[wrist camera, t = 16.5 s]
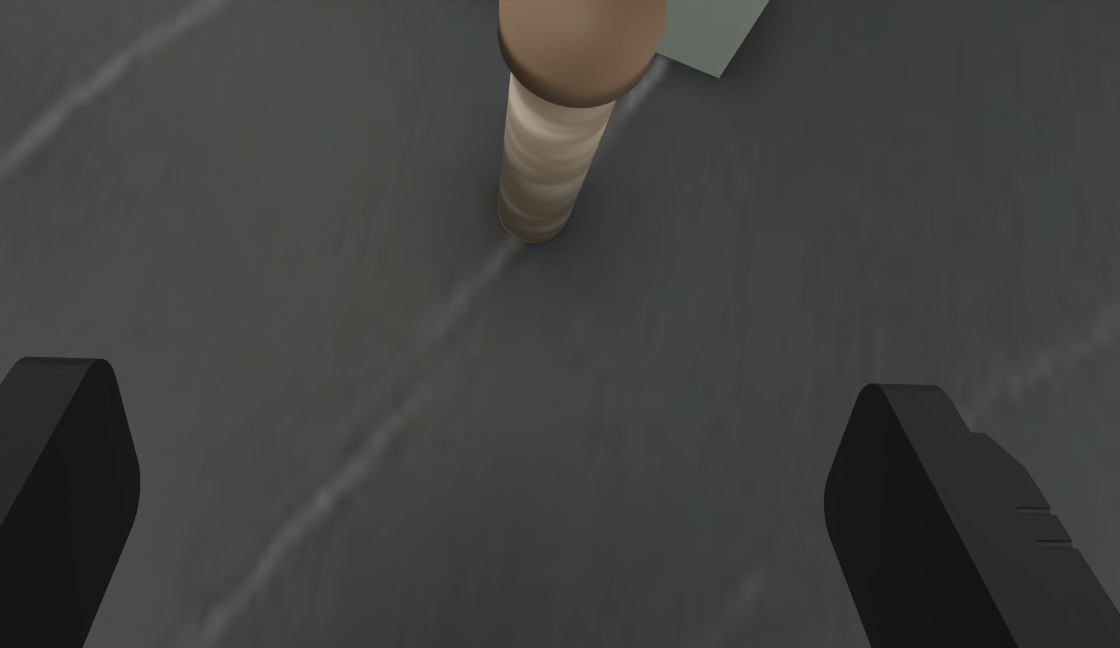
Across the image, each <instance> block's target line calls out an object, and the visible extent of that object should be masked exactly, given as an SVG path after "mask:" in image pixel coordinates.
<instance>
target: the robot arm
mask: <svg viewBox="0 0 1120 648" xmlns="http://www.w3.org/2000/svg"><path fill="white" fill-rule="evenodd" d="M139 496H140V470H139V464H138V459H137V455H136V452H135V448H134V444H133V440H132V437H131V433H130V429H129V425H128V421H127V418H126V414H125V410H124V406H123V403H122V399H121V395H120V391H119V387H118V384H117V380H116V376H115V373H114V370H113V368H112V366H111V365H110V364H109V362H108V361H106V360H104V359H92V358H57V357H24V358H22V359H20V360H19V361H18V362H16V363H15V365H14V366H13V367H12V368H11V370H10V371H9V373H8V374H7V376H6V377H5V379H4V380H3V382H2V383H1V385H0V648H83V645H84V643H85V640H86V638H87V636H88V633H89V631H90V628H91V626H92V623H93V621H94V619H95V616H96V614H97V611H98V609H99V606H100V604H101V601H102V599H103V597H104V594H105V592H106V589H107V587H108V584H109V582H110V579H111V577H112V575H113V572H114V570H115V567H116V565H117V562H118V560H119V558H120V555H121V553H122V550H123V548H124V545H125V543H126V540H127V538H128V536H129V533H130V531H131V528H132V526H133V523H134V520H135V517H136V513H137V508H138V503H139ZM1050 508H1051V507H1050V505H1049V504H1048V502H1047V501H1046V499H1045V498H1044V496H1043V495H1042V493H1041V492H1040V490H1039V488H1038V487H1037V485H1036V484H1035V482H1034V481H1033V479H1032V478H1031V476H1030V475H1029V473H1028V471H1027V470H1026V468H1025V467H1024V466H1023V465H1021V464H1020V463H1019V462H1018V461H1017V460H1016V459H1015V458H1013V457H1012V456H1011V455H1010V454H1009V453H1008V452H1006V451H1005V450H1004V449H1003V448H1002V447H1001V446H999V445H998V444H997V443H996V442H995V441H994V440H993V439H991V438H990V437H989V436H988V435H987V434H986V433H971V432H970V431H969V429H968V427H967V426H966V424H965V422H964V421H963V419H962V418H961V416H960V414H959V413H958V411H957V409H956V408H955V406H954V404H953V403H952V401H951V399H950V398H949V396H948V395H947V394H946V392H945V391H944V390H943V389H942V388H940V387H938V386H935V385H908V384H874V383H872V384H868V385H866V386H865V387H864V388H863V389H862V390H861V392H860V393H859V395H858V397H857V400H856V402H855V405H854V408H853V410H852V413H851V416H850V418H849V421H848V424H847V427H846V429H845V432H844V435H843V437H842V440H841V443H840V445H839V448H838V451H837V453H836V456H835V459H834V461H833V464H832V467H831V469H830V472H829V475H828V478H827V481H826V486H825V493H824V513H825V521H826V526H827V530H828V534H829V537H830V539H831V542H832V545H833V547H834V550H835V553H836V555H837V558H838V561H839V563H840V566H841V568H842V571H843V574H844V576H845V579H846V582H847V584H848V587H849V590H850V592H851V595H852V598H853V600H854V603H855V605H856V608H857V611H858V613H859V616H860V619H861V621H862V624H863V627H864V629H865V632H866V635H867V637H868V640H869V642H870V645H871V648H1120V613H1119V612H1118V610H1117V609H1116V607H1115V606H1114V604H1113V603H1112V601H1111V600H1110V598H1109V596H1108V595H1107V593H1106V592H1105V590H1104V589H1103V587H1102V586H1101V584H1100V583H1099V581H1098V579H1097V578H1096V576H1095V575H1094V573H1093V572H1092V570H1091V569H1090V567H1089V566H1088V564H1087V562H1086V561H1085V559H1084V558H1083V556H1082V555H1081V553H1080V552H1079V550H1078V549H1073V548H1072V545H1071V542H1072V539H1071V538H1070V536H1069V535H1068V533H1067V532H1066V530H1065V529H1064V527H1063V525H1062V524H1061V522H1060V521H1059V519H1058V518H1057V516H1056V515H1051V513H1050Z"/></svg>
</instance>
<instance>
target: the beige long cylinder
mask: <svg viewBox="0 0 1120 648" xmlns="http://www.w3.org/2000/svg"><path fill="white" fill-rule="evenodd" d="M666 19H667V3H666V0H499V15H498V41H499V45H500V50H501V53H502V55H503V58H504V60H505V62H506V64H507V66H508V68H509V70H510V71H511V78H510V87H509V97H508V106H507V116H506V125H505V135H504V144H503V154H502V164H501V173H500V183H499V192H498V202H497V213H498V217H499V220H500V222H501V224H502V226H503V227H504V229H505V230H506V231H507V232H508V233H509V234H510V235H511V236H513V237H514V238H516V239H518V240H520V241H523V242H526V243H542V242H546V241H549V240H551V239H553V238H554V237H556V236H557V235H558V234H559V233H560V232H561V231H562V230H563V229H564V227H565V226H566V224H567V221H568V219H569V216H570V214H571V211H572V209H573V206H574V204H575V202H576V199H577V197H578V194H579V192H580V189H581V187H582V184H583V182H584V179H585V177H586V174H587V172H588V169H589V167H590V164H591V162H592V159H593V157H594V154H595V152H596V149H597V147H598V144H599V142H600V139H601V137H602V134H603V132H604V129H605V127H606V124H607V122H608V119H609V117H610V115H611V112H612V110H613V107H614V105H615V102H616V100H617V99H619V98H621V97H622V96H624V95H625V94H627V93H628V92H629V91H630V90H632V89H633V88H634V87H635V86H636V85H637V84H638V83H639V81H640V80H641V79H642V78H643V76H644V75H645V73H646V72H647V70H648V67H649V65H650V63H651V61H652V59H653V57H654V54H655V52H656V50H657V48H658V46H659V43H660V41H661V39H662V36H663V33H664V30H665V25H666Z"/></svg>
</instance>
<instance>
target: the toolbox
mask: <svg viewBox="0 0 1120 648" xmlns="http://www.w3.org/2000/svg"><path fill="white" fill-rule="evenodd" d="M768 2H769V0H666V3H667V19H666V25H665V30H664V33H663V36H662V39H661V41H660V43H659V46H658V48H657V50H656V53H659V54H661V55H663V56H666V57H668V58H671V59H673V60H675V61H678V62H680V63H683V64H685V65H688V66H690V67H692V68H695V69H697V70H700V71H702V72H704V73H707V74H709V75H712V76H714V77H717V78H719V77H720V76H721V74H722V73H723V71H724V70H725V68H726V67H727V65H728V64H729V62H730V60H731V59H732V57H733V56H734V54H735V53H736V51H737V50H738V48H739V47H740V45H741V43H742V42H743V40H744V39H745V37H746V36H747V34H748V33H749V31H750V30H751V28H752V26H753V25H754V23H755V22H756V20H757V19H758V17H759V16H760V14H761V12H762V11H763V9H764V8H765V6H766V5H767V3H768Z"/></svg>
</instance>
